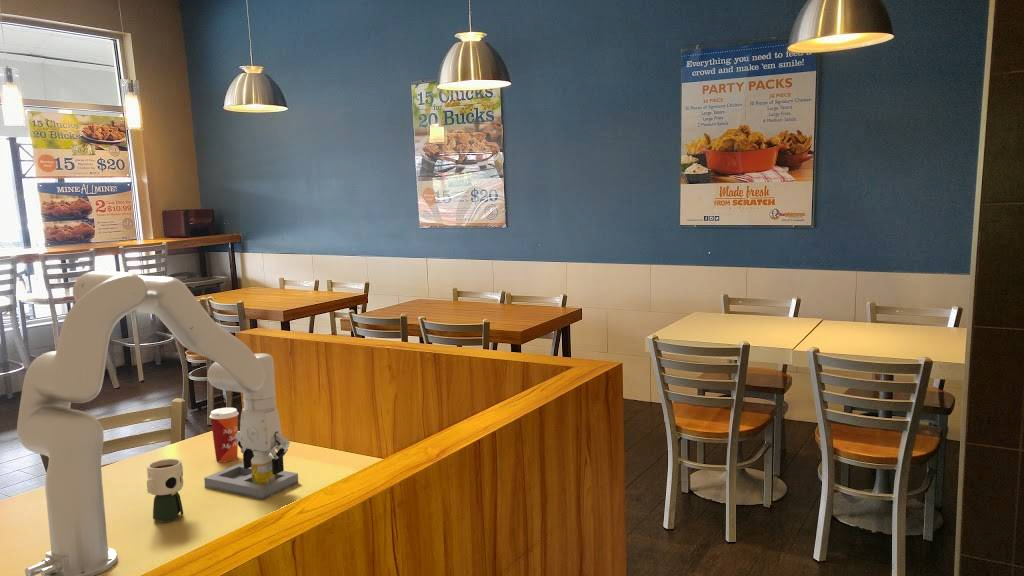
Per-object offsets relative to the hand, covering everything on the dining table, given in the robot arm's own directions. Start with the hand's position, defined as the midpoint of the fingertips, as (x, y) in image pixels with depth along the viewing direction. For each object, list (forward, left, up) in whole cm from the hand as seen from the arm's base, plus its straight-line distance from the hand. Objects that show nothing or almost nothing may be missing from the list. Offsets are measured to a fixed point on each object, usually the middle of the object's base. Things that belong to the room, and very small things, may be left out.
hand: (263, 469), depth 183 cm
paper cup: (+12, +26, -5) cm, 30 cm away
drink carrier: (0, +4, -5) cm, 7 cm away
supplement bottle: (0, 0, -4) cm, 4 cm away
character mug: (-23, +6, -5) cm, 24 cm away
